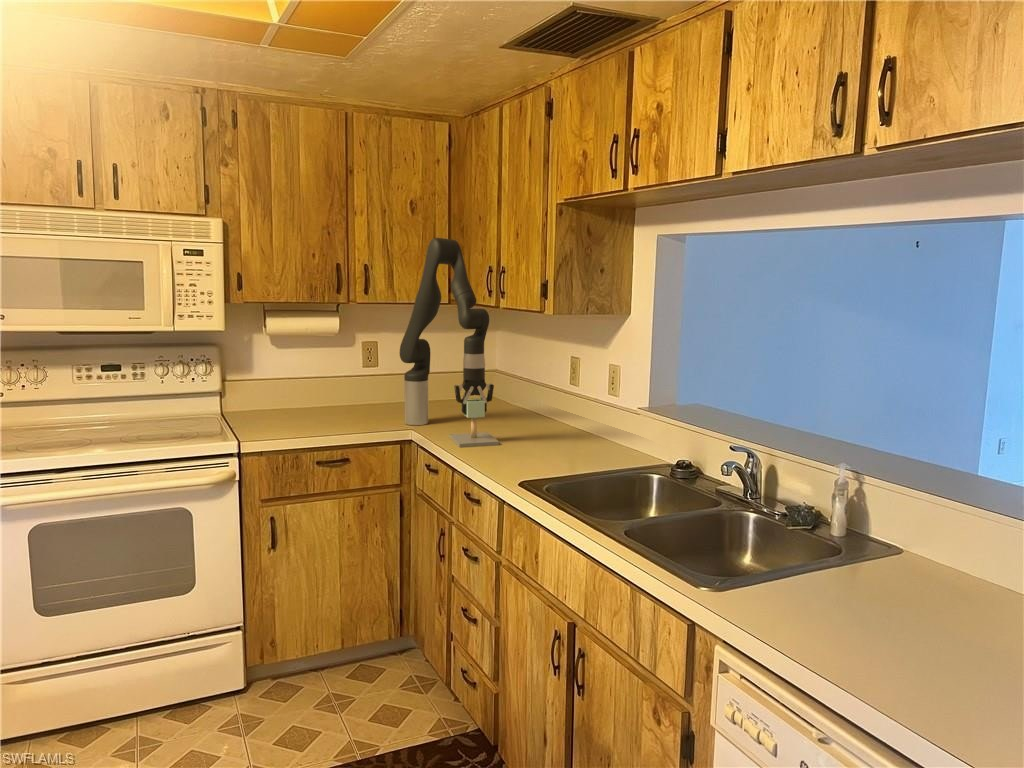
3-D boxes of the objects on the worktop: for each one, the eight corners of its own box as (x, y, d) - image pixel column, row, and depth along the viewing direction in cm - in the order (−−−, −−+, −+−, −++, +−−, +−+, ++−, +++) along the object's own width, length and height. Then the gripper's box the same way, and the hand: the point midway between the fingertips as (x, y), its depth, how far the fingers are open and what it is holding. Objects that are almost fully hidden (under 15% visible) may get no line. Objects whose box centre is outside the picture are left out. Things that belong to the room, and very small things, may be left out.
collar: (463, 414, 260) (463, 399, 260) (480, 413, 262) (480, 398, 261) (467, 417, 255) (467, 402, 254) (484, 417, 256) (484, 401, 256)
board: (449, 437, 265) (449, 414, 264) (487, 435, 269) (487, 413, 268) (459, 447, 250) (459, 423, 249) (499, 445, 254) (499, 421, 253)
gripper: (491, 364, 262) (491, 411, 264) (451, 365, 257) (451, 413, 260) (497, 367, 255) (496, 414, 257) (456, 368, 250) (456, 416, 253)
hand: (474, 413), depth 258 cm, fingers closed on collar, 6 cm apart
